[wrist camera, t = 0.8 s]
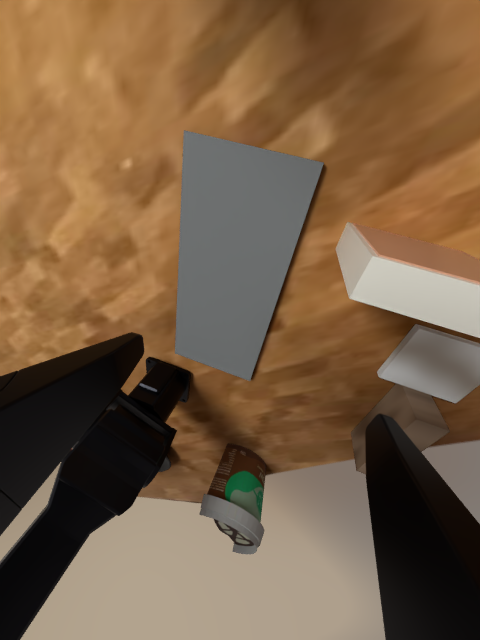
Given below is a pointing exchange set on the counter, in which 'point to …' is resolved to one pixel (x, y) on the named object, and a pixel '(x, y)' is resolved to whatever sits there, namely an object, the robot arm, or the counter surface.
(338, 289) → the counter surface
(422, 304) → the glazed tile
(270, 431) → the counter surface
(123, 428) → the robot arm
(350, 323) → the counter surface
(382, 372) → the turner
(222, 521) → the food container
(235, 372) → the rest mat
